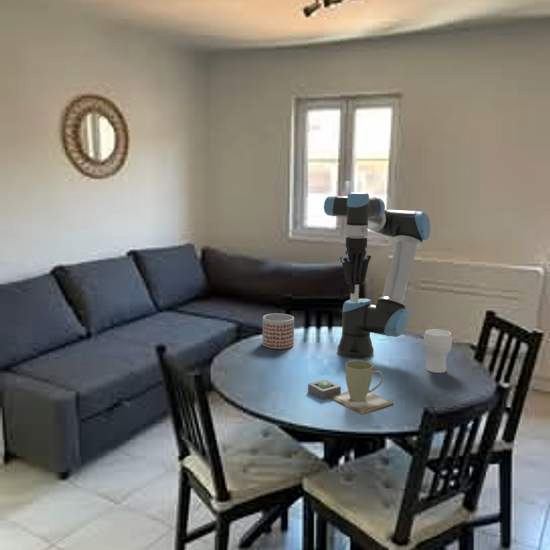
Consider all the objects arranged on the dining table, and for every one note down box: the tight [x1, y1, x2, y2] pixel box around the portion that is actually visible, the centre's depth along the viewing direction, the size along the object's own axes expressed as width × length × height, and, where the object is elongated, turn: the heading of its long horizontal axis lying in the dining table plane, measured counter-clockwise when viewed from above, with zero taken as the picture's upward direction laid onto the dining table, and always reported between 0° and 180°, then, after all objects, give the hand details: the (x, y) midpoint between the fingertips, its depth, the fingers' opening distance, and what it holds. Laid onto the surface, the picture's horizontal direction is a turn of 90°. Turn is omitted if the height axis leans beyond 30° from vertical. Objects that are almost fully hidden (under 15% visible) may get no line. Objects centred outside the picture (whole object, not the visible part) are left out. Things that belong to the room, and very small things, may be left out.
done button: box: [318, 380, 331, 389], centre depth 196 cm, size 4×4×3 cm
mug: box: [344, 359, 384, 402], centre depth 189 cm, size 11×10×12 cm
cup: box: [422, 328, 453, 374], centre depth 220 cm, size 11×11×15 cm
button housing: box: [307, 378, 342, 401], centre depth 196 cm, size 8×8×3 cm
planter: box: [262, 313, 295, 351], centre depth 249 cm, size 14×14×13 cm
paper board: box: [328, 390, 394, 415], centre depth 190 cm, size 16×14×1 cm
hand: (354, 301), depth 205 cm, fingers closed
